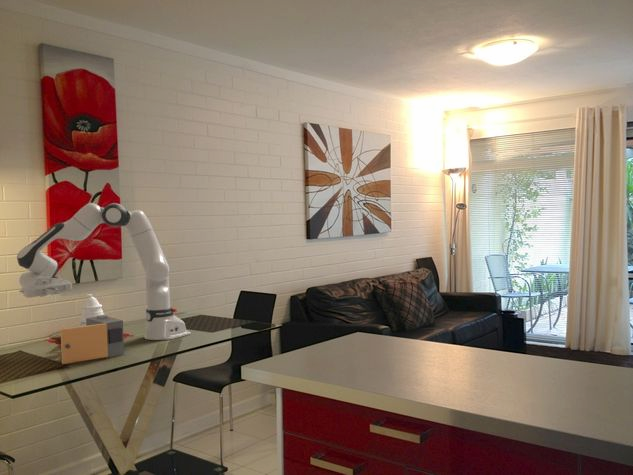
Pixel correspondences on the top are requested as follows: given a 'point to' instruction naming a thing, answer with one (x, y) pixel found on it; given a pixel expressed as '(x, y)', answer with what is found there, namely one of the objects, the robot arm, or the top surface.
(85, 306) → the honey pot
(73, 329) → the side door
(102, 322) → the block
